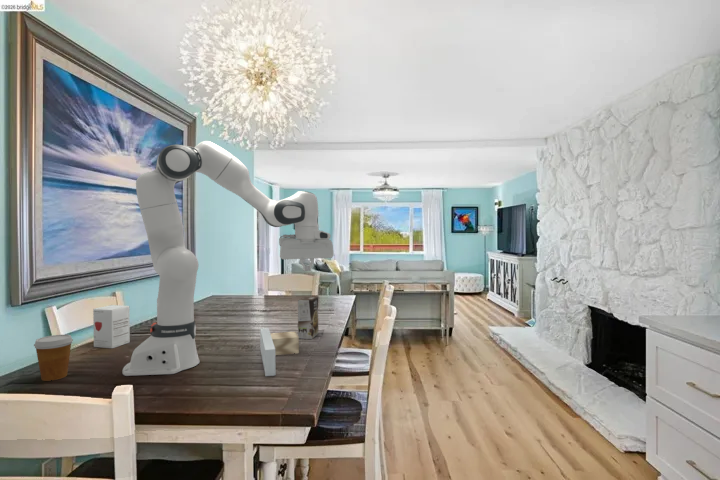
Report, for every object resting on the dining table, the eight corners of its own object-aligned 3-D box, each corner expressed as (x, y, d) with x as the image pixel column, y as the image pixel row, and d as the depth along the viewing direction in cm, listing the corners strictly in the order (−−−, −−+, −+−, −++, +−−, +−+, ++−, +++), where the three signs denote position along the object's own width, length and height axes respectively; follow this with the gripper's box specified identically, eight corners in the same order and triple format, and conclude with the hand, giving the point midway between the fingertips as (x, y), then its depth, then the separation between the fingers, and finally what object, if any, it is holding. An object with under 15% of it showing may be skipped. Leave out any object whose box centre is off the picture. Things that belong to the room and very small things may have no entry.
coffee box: (312, 339, 166) (312, 299, 166) (297, 338, 167) (297, 299, 167) (319, 333, 175) (318, 296, 175) (304, 333, 176) (304, 296, 176)
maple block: (270, 356, 144) (270, 339, 144) (268, 349, 153) (268, 333, 153) (298, 353, 147) (298, 337, 147) (295, 347, 156) (295, 331, 156)
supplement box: (92, 347, 157) (92, 308, 156) (112, 341, 165) (111, 304, 165) (112, 348, 154) (111, 309, 154) (130, 342, 163) (130, 305, 163)
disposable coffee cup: (28, 384, 118) (27, 343, 118) (43, 373, 127) (42, 335, 127) (66, 381, 120) (65, 340, 120) (78, 370, 130) (77, 333, 129)
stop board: (265, 376, 123) (265, 350, 123) (260, 349, 152) (260, 328, 152) (275, 375, 124) (275, 349, 124) (268, 348, 153) (268, 327, 153)
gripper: (279, 234, 148) (280, 272, 149) (334, 234, 154) (334, 270, 154) (278, 234, 154) (278, 270, 155) (330, 234, 160) (331, 269, 160)
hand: (307, 270), depth 155 cm, fingers closed
